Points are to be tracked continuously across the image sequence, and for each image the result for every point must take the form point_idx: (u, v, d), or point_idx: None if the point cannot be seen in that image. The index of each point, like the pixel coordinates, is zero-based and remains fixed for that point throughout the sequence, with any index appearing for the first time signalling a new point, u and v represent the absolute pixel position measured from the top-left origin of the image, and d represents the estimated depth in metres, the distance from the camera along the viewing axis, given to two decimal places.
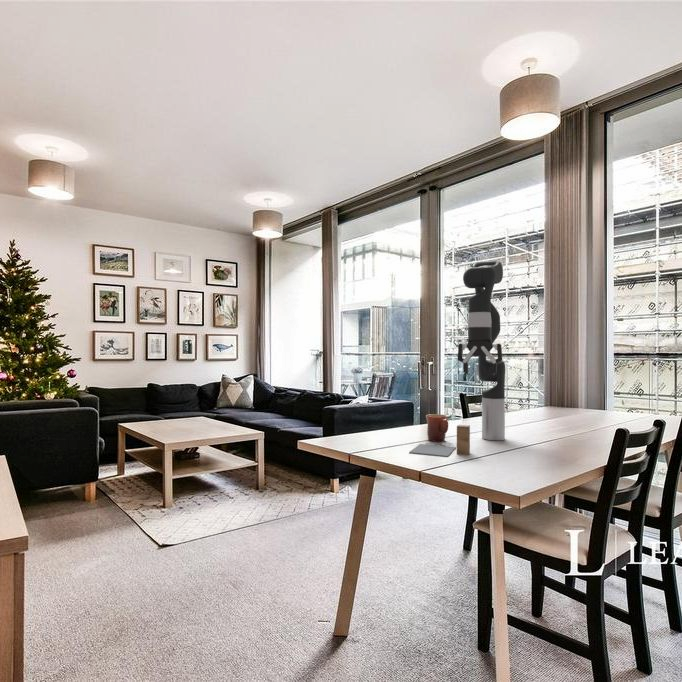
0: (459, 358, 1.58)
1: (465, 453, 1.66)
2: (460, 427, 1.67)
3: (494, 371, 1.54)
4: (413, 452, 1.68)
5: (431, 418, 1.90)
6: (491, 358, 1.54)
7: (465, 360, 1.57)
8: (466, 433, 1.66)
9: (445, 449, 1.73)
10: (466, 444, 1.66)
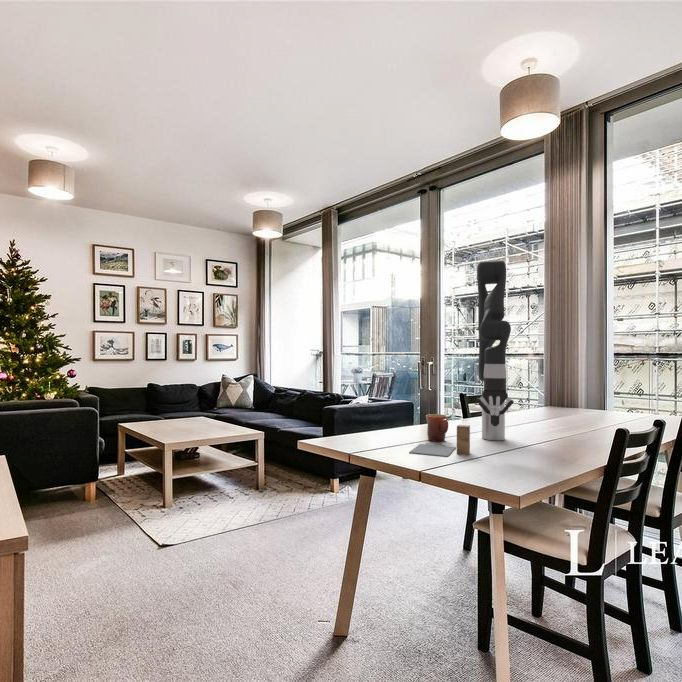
0: (487, 410, 1.64)
1: (465, 453, 1.66)
2: (460, 427, 1.67)
3: (497, 423, 1.63)
4: (413, 452, 1.68)
5: (431, 418, 1.90)
6: (497, 410, 1.63)
7: (492, 412, 1.64)
8: (466, 433, 1.66)
9: (445, 449, 1.73)
10: (466, 444, 1.66)
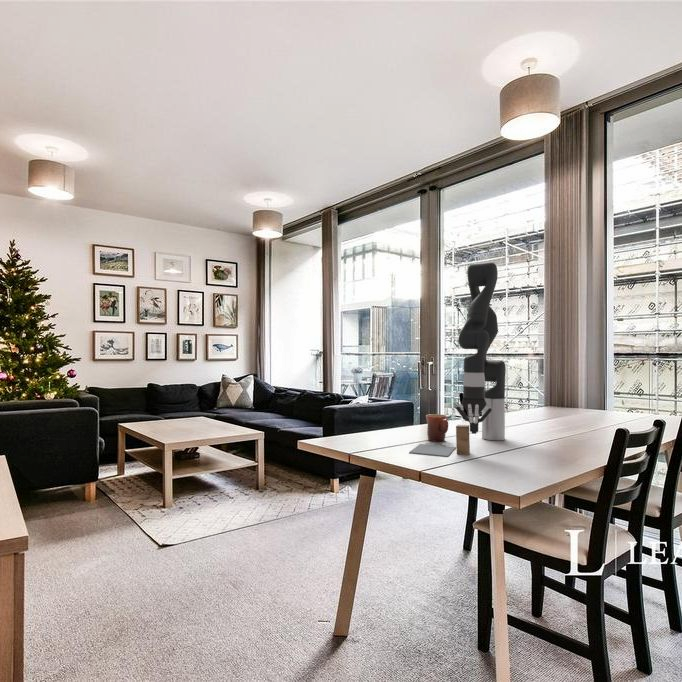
0: (466, 418, 1.67)
1: (465, 453, 1.66)
2: (459, 427, 1.67)
3: (476, 430, 1.66)
4: (413, 452, 1.68)
5: (431, 418, 1.90)
6: (476, 418, 1.66)
7: (471, 420, 1.66)
8: (465, 433, 1.67)
9: (445, 449, 1.73)
10: (466, 444, 1.66)
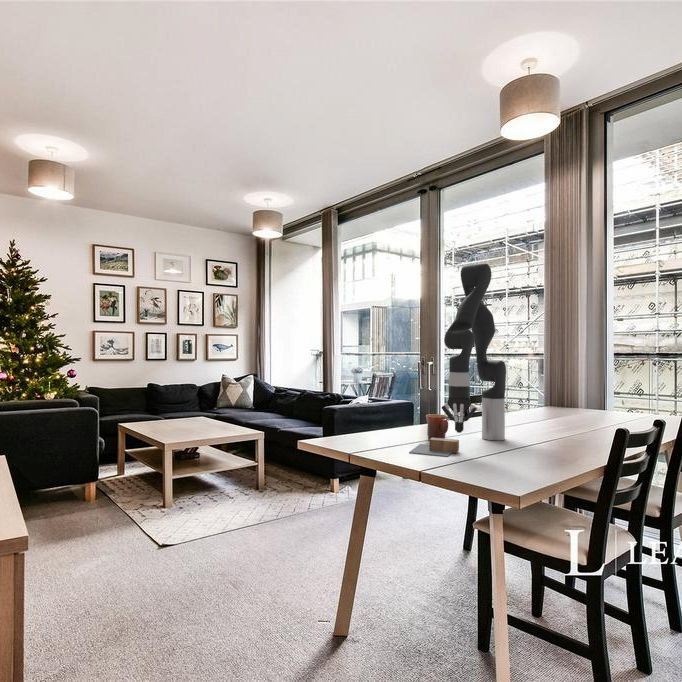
0: (451, 417, 1.69)
1: (455, 444, 1.68)
2: (430, 446, 1.72)
3: (461, 429, 1.68)
4: (413, 452, 1.68)
5: (431, 418, 1.90)
6: (461, 417, 1.68)
7: (456, 419, 1.69)
8: (435, 441, 1.71)
9: None
10: (446, 442, 1.69)
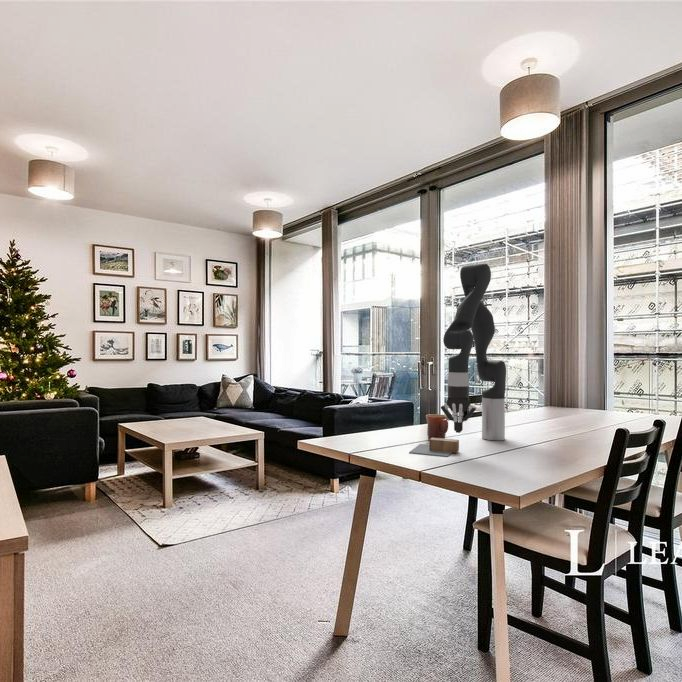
0: (450, 417, 1.70)
1: (455, 444, 1.68)
2: (430, 446, 1.72)
3: (460, 429, 1.69)
4: (413, 452, 1.68)
5: (431, 418, 1.90)
6: (460, 417, 1.68)
7: (456, 419, 1.69)
8: (435, 441, 1.71)
9: None
10: (446, 442, 1.69)
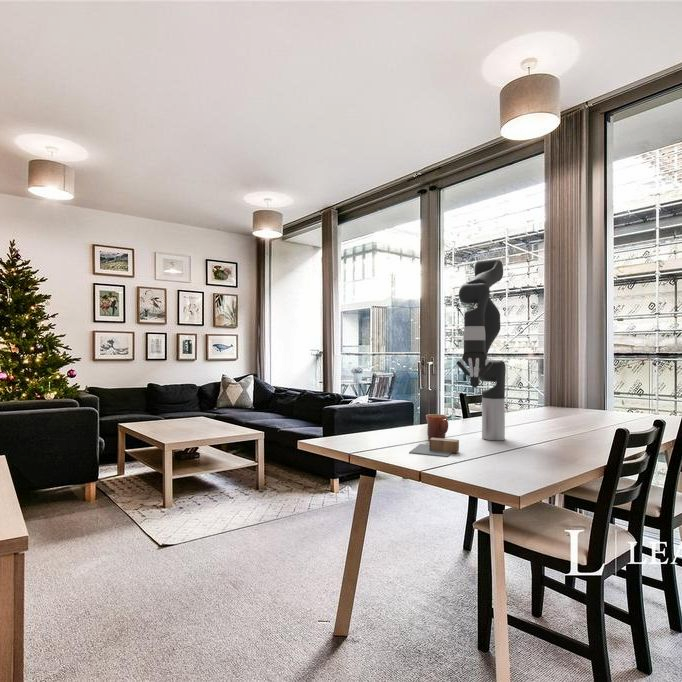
0: (466, 372, 1.67)
1: (455, 444, 1.68)
2: (430, 446, 1.72)
3: (476, 384, 1.66)
4: (413, 452, 1.68)
5: (431, 418, 1.90)
6: (476, 371, 1.66)
7: (472, 374, 1.67)
8: (435, 441, 1.71)
9: None
10: (446, 442, 1.69)
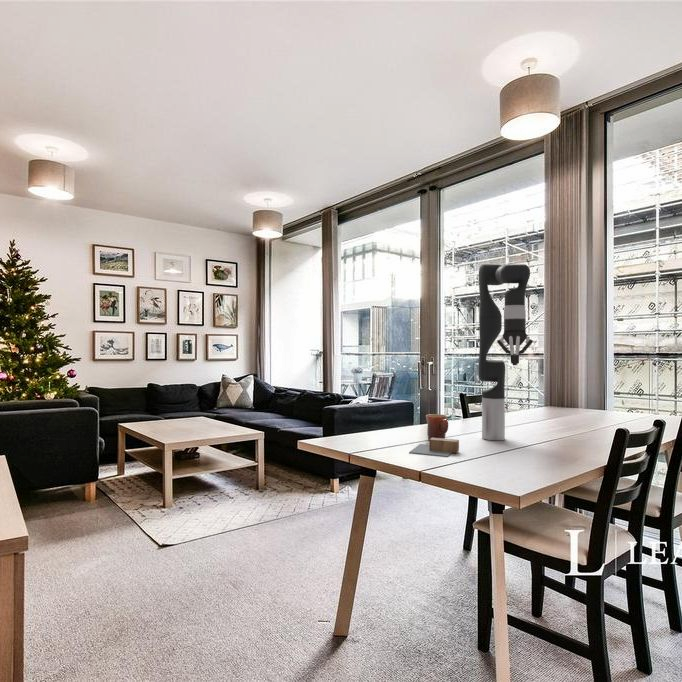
0: (507, 350, 1.72)
1: (455, 444, 1.68)
2: (430, 446, 1.72)
3: (517, 362, 1.71)
4: (413, 452, 1.68)
5: (431, 418, 1.90)
6: (517, 349, 1.70)
7: (512, 352, 1.71)
8: (435, 441, 1.71)
9: None
10: (446, 442, 1.69)
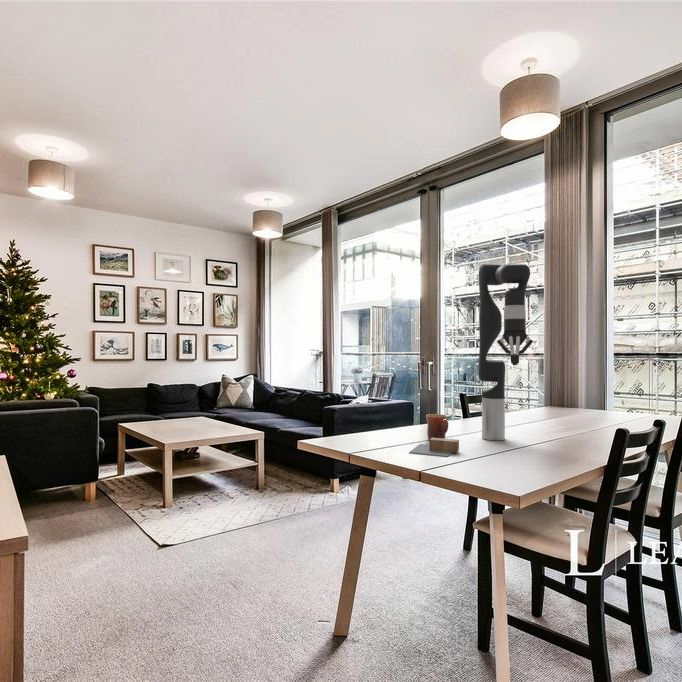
0: (507, 350, 1.72)
1: (455, 444, 1.68)
2: (430, 446, 1.72)
3: (517, 362, 1.71)
4: (413, 452, 1.68)
5: (431, 418, 1.90)
6: (517, 349, 1.70)
7: (512, 352, 1.71)
8: (435, 441, 1.71)
9: None
10: (446, 442, 1.69)
